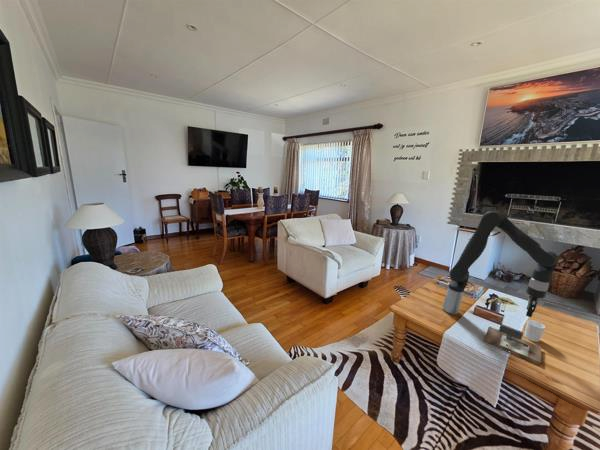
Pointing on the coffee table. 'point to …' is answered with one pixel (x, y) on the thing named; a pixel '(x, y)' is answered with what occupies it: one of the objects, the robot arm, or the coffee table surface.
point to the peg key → (511, 333)
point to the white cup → (534, 330)
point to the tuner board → (514, 345)
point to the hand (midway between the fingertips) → (528, 313)
